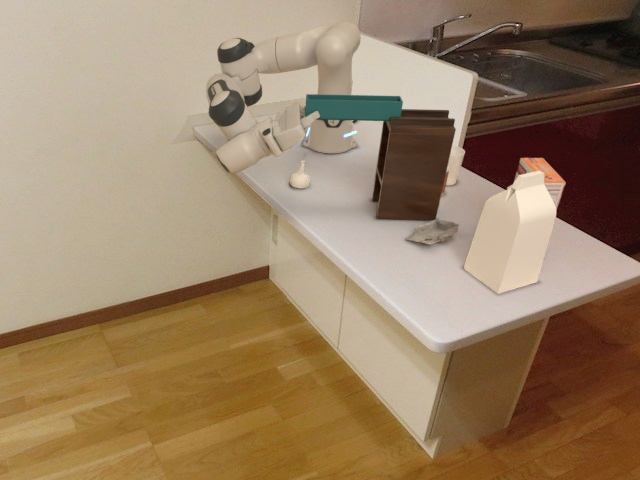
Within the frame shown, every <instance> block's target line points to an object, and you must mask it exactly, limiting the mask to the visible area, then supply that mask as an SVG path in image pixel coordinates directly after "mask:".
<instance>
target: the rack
mask: <svg viewBox="0 0 640 480" xmlns="http://www.w3.org/2000/svg"><path fill="white" fill-rule="evenodd" d="M449 115H450V110H449V109H417V108H415V109H414V108H413V109H411V108H402V111H401V117H390V121H382V127H381V133H380V141H379V147H378V155H377V161H376V168H375V175H374V181H373V189H372V195H371V201H372V202H378V203H377V209H376V210H377V211H376V215H375V216H376V217H375V218H376V220H387V221H389V220H391V221H423V222H425V221H427V222H430V221H433V220H437V216H438V210H439V206H440V201H441V198H442V195H441V193H442V189H443V184H444V180H445V175H446V171H447V166H448V162H449V157H450V153H451V148H452V146H453V143H454V139H455V135H456V129H457V128H456V127H455V122H456V119H455V118H453V117H452V118H450V117H449Z"/></svg>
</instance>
